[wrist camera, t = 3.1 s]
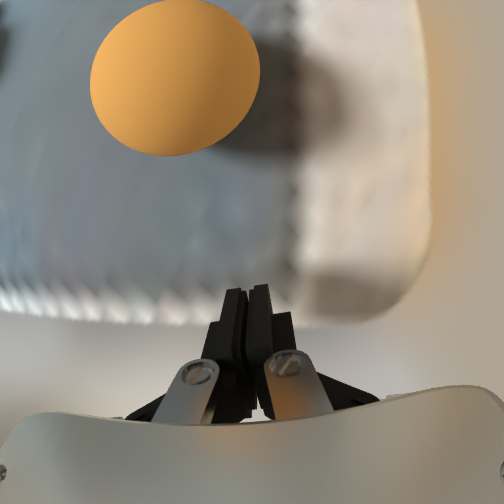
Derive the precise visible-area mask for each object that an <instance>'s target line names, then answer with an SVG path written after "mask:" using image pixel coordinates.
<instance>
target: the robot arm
mask: <svg viewBox="0 0 504 504" xmlns="http://www.w3.org/2000/svg"><path fill="white" fill-rule="evenodd" d="M257 397H258V400H259V404H260V407H261V409H263V411H264V414H265V416H266V417H268V418H270V419H271V420H269V421H258V422H244V423H239V422H240V421H242V420H243V419H244V418H251V417H252V410H255V409H257ZM0 504H504V402H503V401H502V400H501V399H500V398H499V397H498V396H497V395H495V394H494V393H493V392H491V391H490V390H488V389H486V388H483V387H479V386H472V385H457V386H445V387H438V388H431V389H427V390H422V391H417V392H413V393H405V394H395V395H387V398H386V399H378V398H377V397H376V396H374V395H372V394H370V393H367V392H365V391H362V390H360V389H357V388H354V387H352V386H349V385H347V384H344V383H342V382H339V381H337V380H335V379H333V378H330V377H328V376H325V375H323V374H320V373H318V372H316V370H315V368H314V366H313V364H312V361H311V359H310V358H309V356H308V355H307V354H306V353H304V352H302V351H299V350H297V349H296V343H295V336H294V330H293V324H292V318H291V312H284V313H277V314H273V311H272V305H271V299H270V294H269V288H268V284H262V285H256V286H254V289H252V290H249V302H248V297H247V292H246V291H241V288H235V289H228V290H227V291H226V295H225V299H224V303H223V308H222V312H221V316H220V321H216V322H211V323H210V326H209V329H208V333H207V337H206V340H205V344H204V348H203V352H202V355H201V359H197V360H193V361H191V362H188V363H186V364H185V365H184V366H182V367H181V368H180V370H179V371H178V373H177V374H176V377H175V378H174V380H173V382H172V383H171V386H170V387H169V389H168V391H167V393H165V394H164V395H162V396H160V397H159V398H157V399H155V400H154V401H152V402H150V403H148V404H147V405H145V406H143V407H142V408H140V409H138V410H136V411H135V412H133V413H131V414H130V415H128V416H127V417H126V418H125V420H124V419H123V418H122V417H115V418H104V417H97V416H90V415H83V414H76V413H68V412H42V413H36V414H32V415H30V416H27V417H25V418H24V419H22V420H21V422H19V424H18V425H17V426H16V427H15V428H14V430H13V431H12V432H11V434H10V435H9V437H8V438H7V440H6V441H5V443H4V445H3V446H2V448H1V449H0Z"/></svg>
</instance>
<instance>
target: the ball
mask: <svg viewBox="0 0 504 504" xmlns="http://www.w3.org/2000/svg"><path fill="white" fill-rule="evenodd" d="M259 80H260V63H259V56H258V52H257V49H256V46H255V43H254V41H253V39H252V37H251V35H250V34H249V33H248V31H247V30H246V28H245V27H244V26H243V25H242V24H241V23H240V22H239V21H238V20H237V19H236V18H235V17H234V16H233V15H231V14H230V13H228V12H227V11H225V10H223V9H221V8H219V7H218V6H216V5H213V4H210V3H207V2H203V1H198V0H166V1H161V2H157V3H154V4H151V5H148V6H146V7H143V8H141V9H139V10H137V11H135V12H133V13H132V14H130V15H129V16H127V17H126V18H125V19H123V20H122V21H121V22H120V23H119V24H117V25H116V26H115V27H114V29H113V30H112V31H111V32H110V33H109V34H108V35H107V37H106V38H105V39H104V41H103V43H102V44H101V46H100V48H99V50H98V52H97V54H96V56H95V59H94V62H93V66H92V70H91V79H90V93H91V99H92V103H93V106H94V109H95V111H96V114H97V116H98V118H99V120H100V121H101V123H102V124H103V126H104V127H105V128H106V129H107V130H108V131H109V132H110V133H111V134H112V135H113V136H114V137H115V138H116V139H117V140H118V141H120V142H121V143H123V144H124V145H126V146H128V147H130V148H132V149H134V150H137V151H140V152H142V153H146V154H151V155H160V156H178V155H184V154H189V153H193V152H196V151H199V150H202V149H204V148H206V147H209V146H211V145H213V144H214V143H216V142H218V141H220V140H221V139H222V138H224V137H225V136H227V135H228V134H229V133H230V132H231V131H232V130H233V129H235V128H236V127H237V126H238V124H239V123H240V122H241V121H242V120H243V118H244V117H245V116H246V114H247V112H248V111H249V109H250V107H251V105H252V103H253V101H254V99H255V96H256V93H257V90H258V86H259Z"/></svg>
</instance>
